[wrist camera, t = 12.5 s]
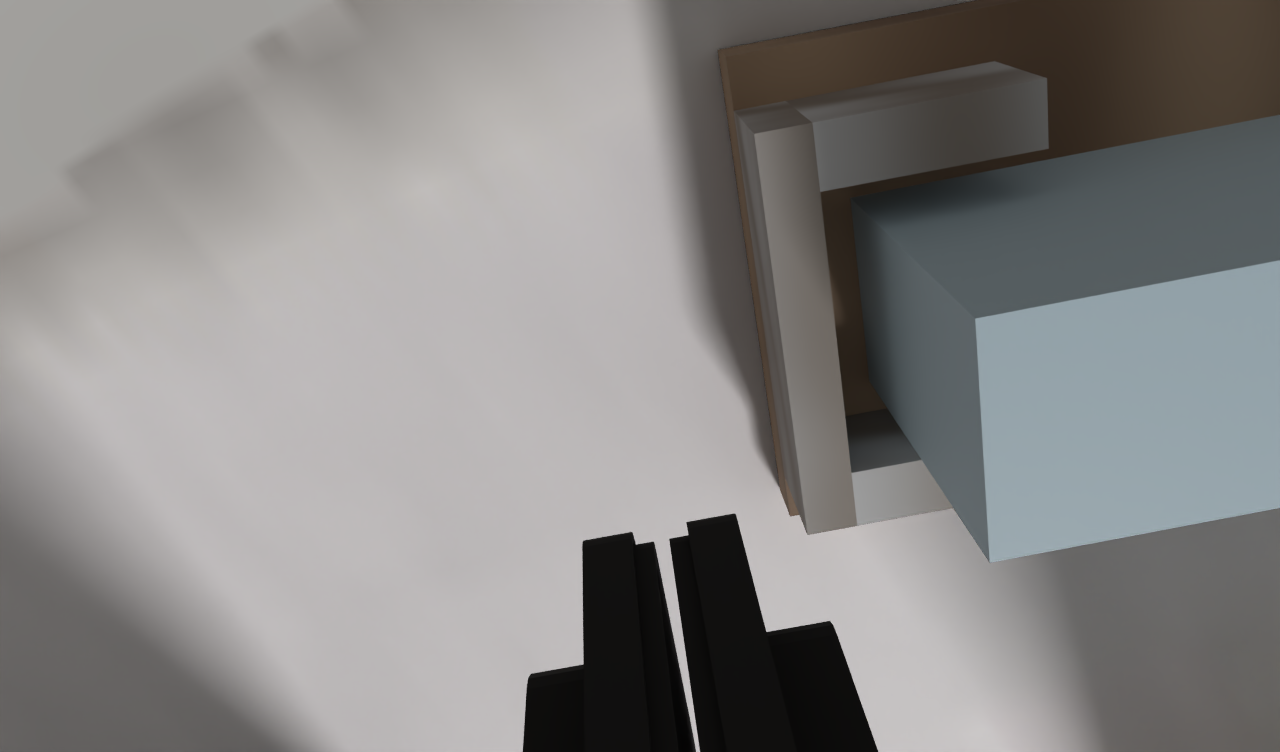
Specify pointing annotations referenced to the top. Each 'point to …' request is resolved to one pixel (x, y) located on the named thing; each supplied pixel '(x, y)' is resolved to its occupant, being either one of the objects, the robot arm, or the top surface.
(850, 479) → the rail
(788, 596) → the top surface
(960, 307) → the pale blue block
